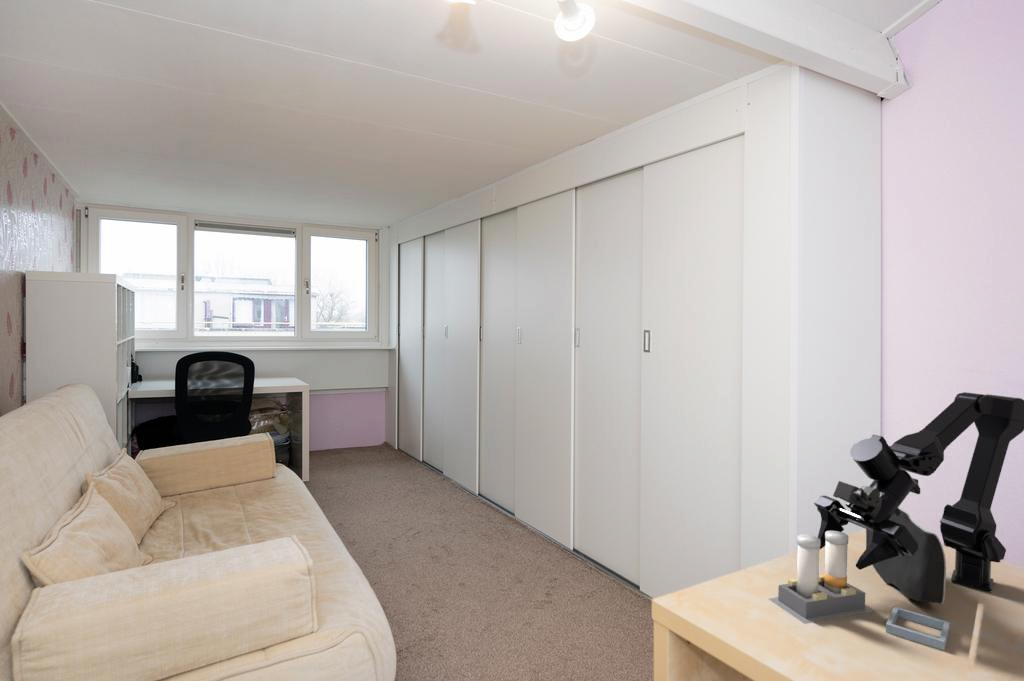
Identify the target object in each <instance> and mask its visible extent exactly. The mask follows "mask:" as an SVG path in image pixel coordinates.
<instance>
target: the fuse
mask: <svg viewBox="0 0 1024 681" xmlns="http://www.w3.org/2000/svg"><path fill="white" fill-rule="evenodd" d="M796 537H797V538H796V544H797V556H796V558H797V559H796V560H797V561H796V563H797V564H796V578H797V590H796V593H798V594H799V595H801V596H802V597H804V598H806V599H810V598H812V594H814V593H818V589H819V575H820V553H821V552H820V550H821V549H820V539H819V538H818V536H816V535H812V534H806V533H804V534H803V533H802V534H798V535H797V536H796Z"/></svg>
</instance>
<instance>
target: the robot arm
mask: <svg viewBox="0 0 1024 681" xmlns="http://www.w3.org/2000/svg"><path fill="white" fill-rule="evenodd" d="M973 424H974V425H975V427H976V430H977V433H978V435H977V438H976V443H975V446H974V449H973V453H972V457H971V460H970V464H969V467H968V470H967V473H966V478H965V481H964V485H963V488H962V491H961V495H960V498H959V500H957V501H956V502H955V503H953V504H952V505H950V504H946V505H945V506H944V508H943V514H942V516H941V518H940V520H939V523H940V524H939V526H940V527H939V529H940V533H941V537H942V541H943V545H944V546H945V547H947V548H950V549H953V550H955V555H954V556H955V557H954V558H955V561H954V562H955V563H954V569H953V571H952V573H951V577H950V578H951V579H950V581H951V582H952V583H954V584H958V585H963V586H966V587H971V588H975V589H978V588H979V590H982V589H983V590H982V591H986V590H987V591H986V592H990V591H992V592H993V589H992V588H994V579H993V578H991V576H992V563H1001V561H1003V560H1004V559H1005V556H1006V552H1007V549H1006V547H1005V546H1004V544H1002V543H1001V541H1000V540H999V538H998V537H997V536H996V532H997V523H996V520H995V517H994V515H993V513H992V511H991V508H992V505H993V502H994V497H995V494H996V491H997V487H998V483H999V481H1000V476H1001V473H1002V471H1003V470H1002V468H1003V466H1004V463H1005V459H1006V454H1007V451H1008V449H1009V444H1010V443H1011V441H1012V440H1014V439H1015V438H1016V437H1018V436H1019V435H1020V434H1022V433H1023V432H1024V399H1023V398H1021V397H1020V398H1019V397H1014V396H1005V395H995V394H990V393H989V394H982V393H974V392H968V391H966V392H964V391H963V392H960V393H957V394H956V396H955V397H954V400H953V401H952V402H951V403H950V404H949V405H948V406H947V407H946V408H944V410H942V411H941V412H940V413H939V414H938V415H937V416H936V417H934V418H933V419H932V420H931V421H930V422H929V423H928V424H926V425H925V426H924V427H923V428H922V429H921V430H919V431H917V432H914V433H911V434H909V433H908V434H906V435H904V436H902V437H901V438H899V439H897V440H896V441H895V442H893V443H892V444H891V445H889V444H888V442H887V440H886V439H885V438H884V436H882V435H877V434H872V435H871V436H870V438H865V439H862V440H860V441H858V442H856V443H854V444H853V445H852V446H851V448H850V451H849V455H850V457H851V458H852V460H853V461H854V462H855V464H856V465H857V466H858V467H859V468H860V470H862V472H863V473H864V474H865V476H866V477H868V478H869V479H871V480H872V482H871V483H870V485H869V486H868V485H867V486H865V485H862V486H860V487H859V486H858V487H857V486H855V485H852V484H849V483H846V482H843V481H838V482H837V485H836V488H835V490H834V493H833V494H832V496H833V497H834V498H832V497H830V496H828V495H819V496H818V498H817V499H816V500H815V501H814V503H813V504H814V505H815V506H816V510H817V512H818V513H819V514H820V518H821V519H820V525H819V526H820V528H819V530H818V534H817V537H818V538H819V539H820V550H821V549H823V548H824V547H825V545H826V540H825V532H826V531H839V532H842V533H843V531H844V530H845V528H844V527H843V526H846V525H848V524H849V523H851V524H853V525H856V526H858V527H861V528H863V529H865V530H866V529H867V530H870V531H872V532H873V537H872V541H871V543H870V544H869V546H868V547H867V548H866V547H865V549H864V551H863V553H862V554H861V555H860V557H859V558H858V559H857V561H856V564H855V568H857V569H858V570H863V569H865V568H868V567H870V566H873V564H875V563H878V562H881V561H883V560H886V559H890V558H893V557H896V556H901V557H903V556H904V553H905V554H907V555H909V556H913V555H914V554H915V552H916V551H917V550H918V541H917V540H916V539H915V538H914V536H913V535H912V534H911V533H910V532H909V530H908V529H907V528H906V527H905V526H904V525H901V524H898V523H896V522H893V521H891V520H889V519H890V517H891V516H892V515H895V516H899V515H900V513H901V512H900V511H899V510H898V507H899V508H900V506H901V504H902V503H903V502H904V500H905V499H906V498H907V496H908V495H909V494H910V493H913V494H915V495H920V494H921V487H920V485H919V479H917V478H913V477H912V476H911V475H910V473H913V474H917V475H919V476H925V477H929V476H931V475H933V474H934V473H935V472H936V471H937V469H938V468H939V467H940V466H941V464H942V463H943V462H944V460H945V450H946V449H947V448H948V447H949V446H950V445H951V444H952V443H953V442H954V441H955V440H957V438H959V437H960V435H962V434H963V433H964V432H965V431H966V430H967V429H968V428H969V427H970V426H971V425H973ZM835 498H836V499H835ZM837 498H838V499H840V500H843V501H845V503H844V505H845V506H846V507H847V508H849V509H850V511H849V510H847V509H846V507H844V505H842V503H841V501H839V500H837Z"/></svg>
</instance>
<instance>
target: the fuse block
mask: <svg viewBox="0 0 1024 681" xmlns="http://www.w3.org/2000/svg"><path fill="white" fill-rule="evenodd" d="M796 590H797V577H795V578H790V579H788V583H784V584H778V594H777V595H778V597H777V596H776V597H772V598H771V597H770V598H768V600H769V601H771V602H772V603H773V604H775V605H776V606H778V607H779V608H781V609H782V610H783V611H785V612H786V613H788V614H789V615H791V616H792V617H794V618H796V619H797V620H799V621H800V622H801V623H803V624H810V623H814V622H815V623H816V622H819V621H820V622H821V621H826V620H831V619H838V618H843V617H849V616H854V615H860V614H865V613H871V612H876V611H877V610H876V609H874V608H872V607H871V606H869V605H867V604H866V592H865V591H863V590H861V589H860V588H858V587H855V586H854V585H852V584H850V583H848V582H847V587H846V588H845V589H841V594H834V593H832V592H831V591H829V590H827V589H825V588H824V573H822V574H819V589H818V593H814V594H812V598H810V599H806V598H804V597H802V596H801V595H799V594H798V593H796Z"/></svg>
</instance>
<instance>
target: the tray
mask: <svg viewBox="0 0 1024 681" xmlns="http://www.w3.org/2000/svg"><path fill="white" fill-rule="evenodd" d="M899 618H900V619H904V620H907V621H909V622H913V623H916V624H920V625H924V626H926V627H930V628H934V629H937V630H941V632H940V636H939V637H936V636H933V635H929V634H927V633H926V634H925V633H922V632H920V631H916V630H913V629H910V628H907V627H904V626H901V625H898V624H896V622H897V620H898V619H899ZM950 623H951V622H950V621H946V620H943V619H940V618H936V617H933V616H929V615H925V614H922V613H919V612H914V611H912V610H908V609H904V608H902V607H899V606H893V608H892V610H891V612H890V614H889V616H888V619H887V620H886V623H885V633H887V634H890V635H893V636H896V637H900V638H902V639H906V640H909V641H912V642H916V643H919V644H922V645H924V646H928V647H931V648H933V649H937V650H941V651H943V652H944V651H945V650H946V645H947V641H948V638H949V633H950V626H951V625H950Z"/></svg>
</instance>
